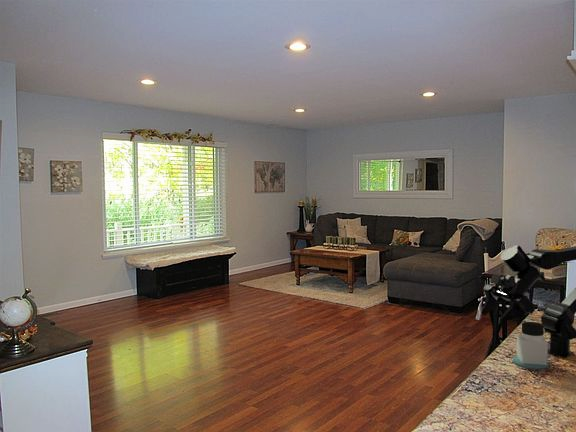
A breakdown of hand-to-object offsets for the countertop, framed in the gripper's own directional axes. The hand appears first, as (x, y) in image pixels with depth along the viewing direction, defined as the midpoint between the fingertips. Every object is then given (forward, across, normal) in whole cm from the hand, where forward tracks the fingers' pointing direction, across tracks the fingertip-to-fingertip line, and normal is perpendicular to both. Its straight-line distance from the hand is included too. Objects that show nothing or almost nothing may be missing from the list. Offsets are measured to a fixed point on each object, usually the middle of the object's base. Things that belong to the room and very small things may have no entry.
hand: (490, 318), depth 153 cm
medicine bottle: (+1, +5, +17) cm, 18 cm away
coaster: (+2, +5, +17) cm, 18 cm away
